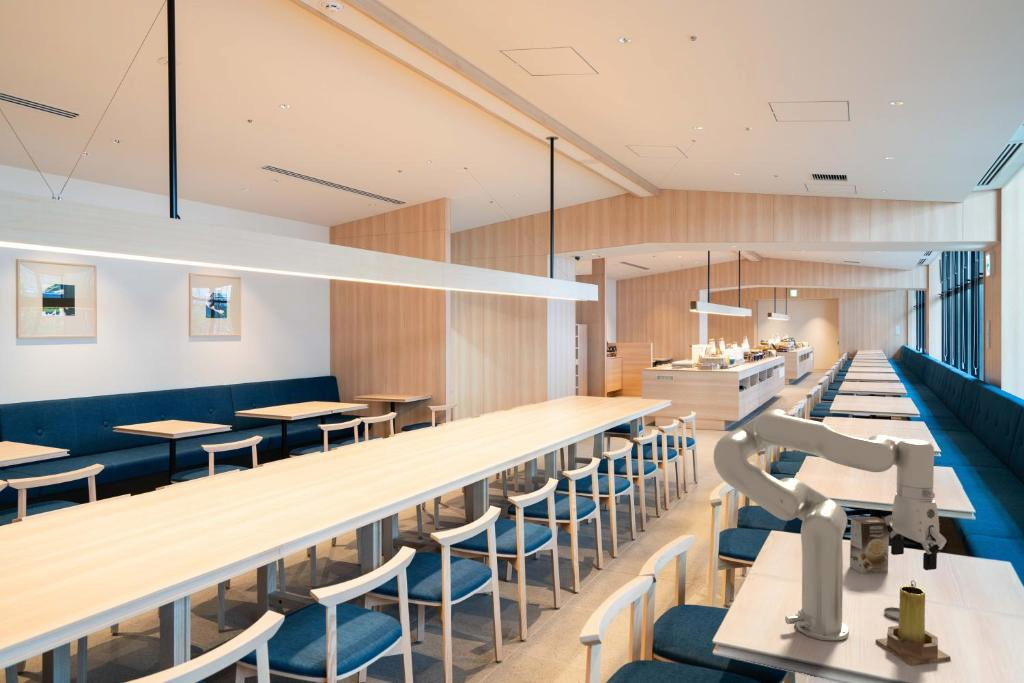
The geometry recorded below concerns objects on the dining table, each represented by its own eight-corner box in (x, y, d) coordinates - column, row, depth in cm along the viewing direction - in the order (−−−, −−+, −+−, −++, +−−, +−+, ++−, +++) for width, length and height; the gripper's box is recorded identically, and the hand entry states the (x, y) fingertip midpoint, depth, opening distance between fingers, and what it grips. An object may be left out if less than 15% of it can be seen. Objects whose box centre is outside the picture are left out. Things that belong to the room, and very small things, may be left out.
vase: (928, 647, 160) (929, 589, 160) (923, 656, 156) (924, 597, 155) (900, 638, 165) (901, 582, 164) (894, 648, 160) (894, 590, 159)
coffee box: (862, 574, 206) (862, 523, 206) (849, 566, 213) (849, 517, 212) (889, 572, 208) (889, 522, 207) (875, 564, 214) (875, 515, 213)
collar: (911, 665, 154) (911, 649, 153) (875, 642, 164) (875, 627, 164) (950, 659, 156) (950, 644, 156) (912, 637, 167) (913, 622, 166)
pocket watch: (878, 613, 180) (879, 577, 179) (899, 607, 183) (900, 572, 183) (906, 626, 172) (907, 589, 172) (928, 620, 176) (928, 583, 175)
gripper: (959, 500, 151) (957, 574, 152) (899, 481, 168) (898, 547, 168) (931, 503, 149) (929, 577, 150) (874, 483, 166) (873, 550, 167)
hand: (913, 561), depth 159 cm, fingers open, 9 cm apart
